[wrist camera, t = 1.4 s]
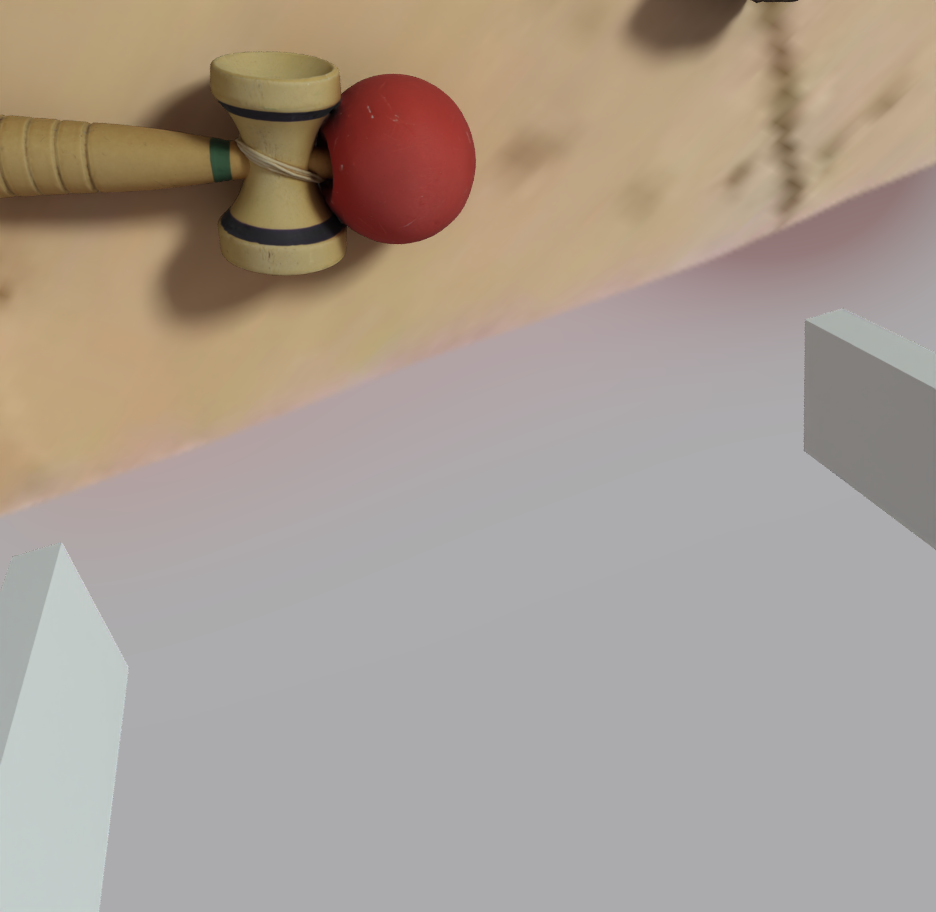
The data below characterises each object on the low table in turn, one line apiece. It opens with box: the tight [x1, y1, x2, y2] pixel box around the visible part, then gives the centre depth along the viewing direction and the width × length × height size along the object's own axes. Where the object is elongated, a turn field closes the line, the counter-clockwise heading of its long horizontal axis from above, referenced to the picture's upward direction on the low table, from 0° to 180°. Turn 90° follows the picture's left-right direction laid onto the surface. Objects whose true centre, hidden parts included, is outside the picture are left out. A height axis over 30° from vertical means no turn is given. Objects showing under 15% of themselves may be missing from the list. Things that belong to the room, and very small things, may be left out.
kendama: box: [0, 52, 476, 276], centre depth 31 cm, size 8×6×18 cm
